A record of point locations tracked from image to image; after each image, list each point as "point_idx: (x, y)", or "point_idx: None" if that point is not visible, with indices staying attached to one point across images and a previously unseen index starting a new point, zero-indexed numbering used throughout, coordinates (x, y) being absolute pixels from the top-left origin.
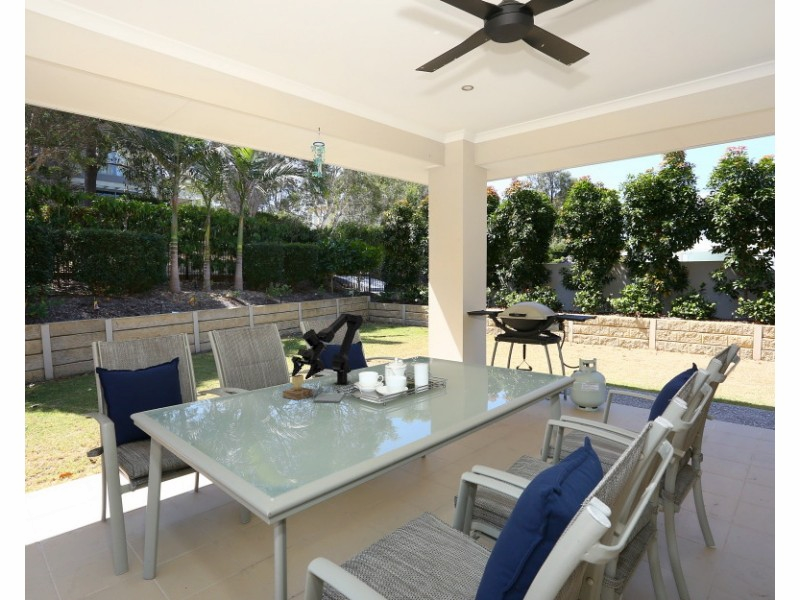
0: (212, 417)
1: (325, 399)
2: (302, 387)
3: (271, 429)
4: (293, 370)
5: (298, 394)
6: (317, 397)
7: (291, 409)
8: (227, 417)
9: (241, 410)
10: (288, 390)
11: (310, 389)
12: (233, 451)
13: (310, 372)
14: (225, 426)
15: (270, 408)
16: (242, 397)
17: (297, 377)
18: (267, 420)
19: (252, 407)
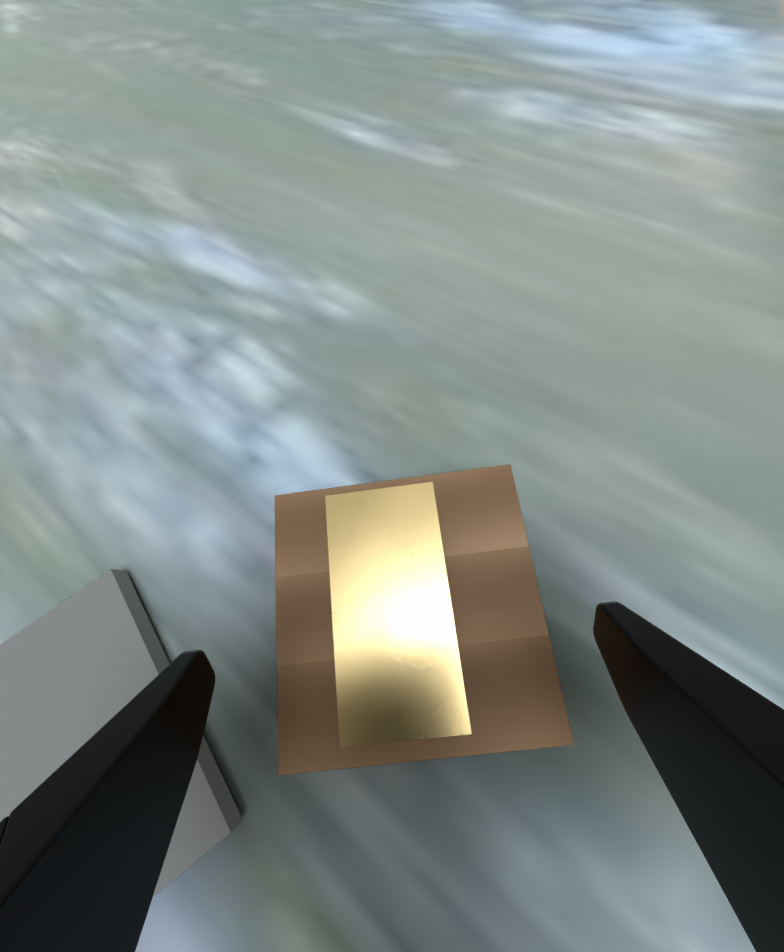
0: (417, 48)
1: (18, 673)
2: (474, 742)
3: (33, 149)
4: (740, 702)
5: (277, 511)
6: (138, 667)
7: (166, 355)
8: (358, 86)
9: (414, 159)
10: (474, 513)
11: (300, 745)
12: (13, 14)
13: (7, 844)
14: (248, 53)
15: (306, 278)
16: (734, 265)
17: (331, 546)
18: (142, 183)
19: (420, 217)
